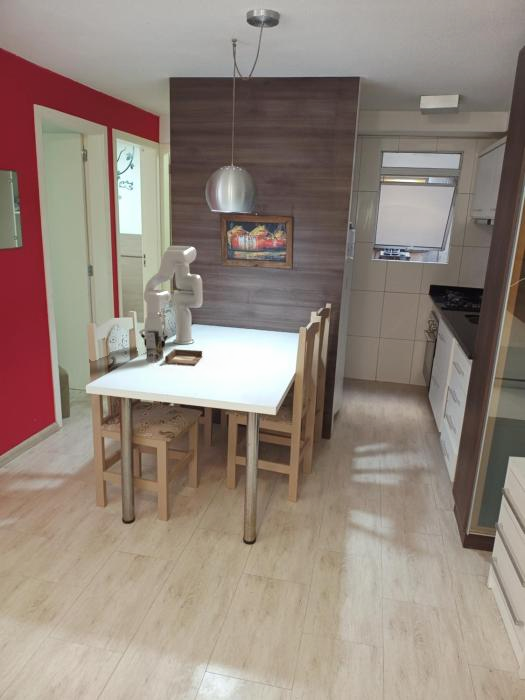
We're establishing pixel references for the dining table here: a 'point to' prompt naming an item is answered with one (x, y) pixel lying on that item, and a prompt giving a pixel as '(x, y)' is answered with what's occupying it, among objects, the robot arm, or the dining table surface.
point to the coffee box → (153, 346)
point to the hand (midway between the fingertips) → (154, 346)
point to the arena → (183, 357)
